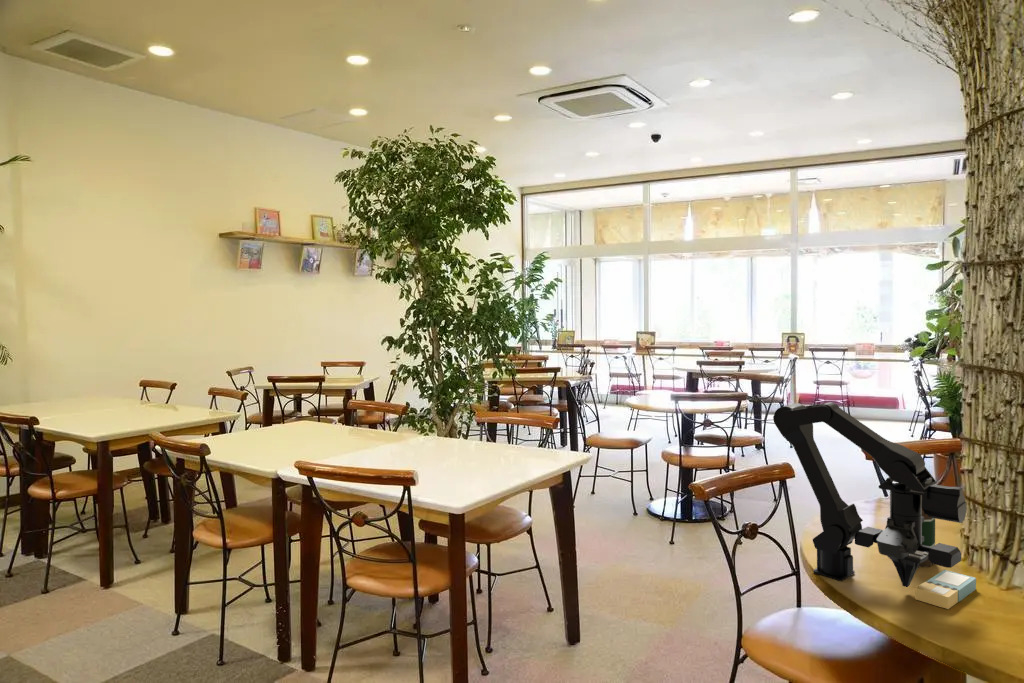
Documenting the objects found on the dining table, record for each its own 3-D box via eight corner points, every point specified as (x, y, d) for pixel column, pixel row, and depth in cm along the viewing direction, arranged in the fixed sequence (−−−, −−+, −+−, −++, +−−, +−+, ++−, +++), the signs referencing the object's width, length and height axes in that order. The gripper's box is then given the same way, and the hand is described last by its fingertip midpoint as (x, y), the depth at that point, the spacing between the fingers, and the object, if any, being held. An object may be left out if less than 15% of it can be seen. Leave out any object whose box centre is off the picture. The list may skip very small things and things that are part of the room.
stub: (915, 599, 140) (915, 587, 140) (925, 592, 143) (925, 580, 143) (948, 609, 136) (948, 596, 135) (957, 602, 138) (957, 589, 138)
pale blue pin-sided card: (926, 592, 144) (926, 580, 143) (944, 580, 149) (944, 569, 149) (959, 601, 139) (959, 589, 139) (975, 589, 144) (976, 577, 144)
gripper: (841, 511, 145) (842, 583, 146) (939, 532, 131) (939, 613, 132) (866, 500, 152) (867, 569, 153) (962, 519, 137) (962, 596, 138)
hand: (906, 586), depth 144 cm, fingers closed
